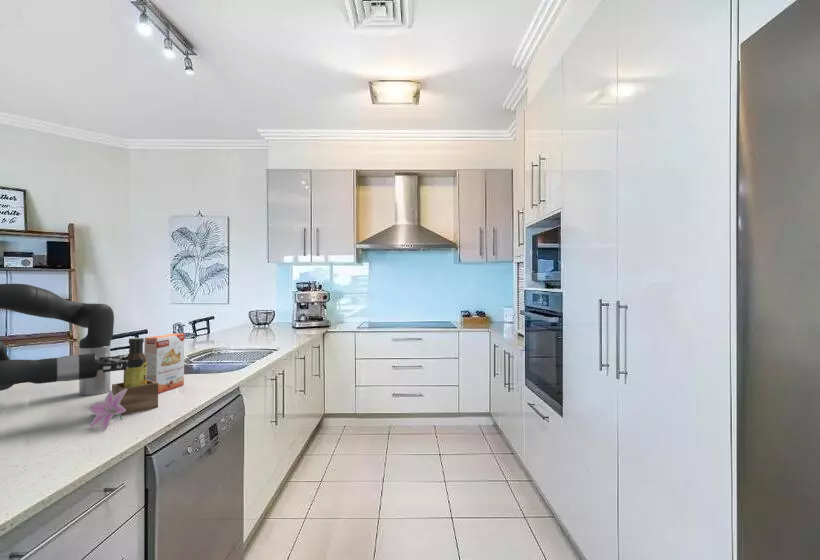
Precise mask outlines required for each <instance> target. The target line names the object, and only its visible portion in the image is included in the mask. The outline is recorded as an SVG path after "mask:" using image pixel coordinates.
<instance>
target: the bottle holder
mask: <svg viewBox="0 0 820 560" xmlns="http://www.w3.org/2000/svg"><path fill="white" fill-rule="evenodd" d="M123 384H124V381H123V382H117V383H114V384H113V383H112V384H111V391H112V393H113V395H116V394H117V393H119V392H120V391H122V390H124V389H127V391H126V393H125V395H124V396H123V398H122V399H121V401H120V403H119V405H121V406H123V407H124V408H125V409H126V411H125V412H123V413H120V414H119V415H120V416H121V415H122V416H126V415H129V414H133V413H140V412H143V411H147V410H152V409H157V408H159V393H158V383H157V382H154V381H151V380H149V379H147V380H146V385H142V386H136V387H130V388H123Z"/></svg>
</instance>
